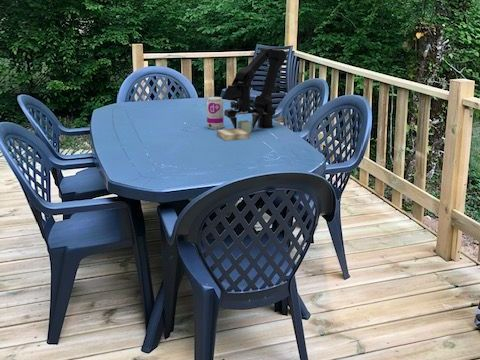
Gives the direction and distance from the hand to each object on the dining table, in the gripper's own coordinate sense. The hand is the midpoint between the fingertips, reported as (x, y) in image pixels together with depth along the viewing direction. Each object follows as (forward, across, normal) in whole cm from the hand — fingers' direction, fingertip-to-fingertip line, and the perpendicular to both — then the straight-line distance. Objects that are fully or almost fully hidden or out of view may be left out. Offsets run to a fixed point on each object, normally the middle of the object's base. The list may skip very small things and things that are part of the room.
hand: (244, 129), depth 278 cm
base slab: (+2, +9, +8) cm, 12 cm away
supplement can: (+1, +10, -14) cm, 17 cm away
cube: (+1, 0, 0) cm, 1 cm away
